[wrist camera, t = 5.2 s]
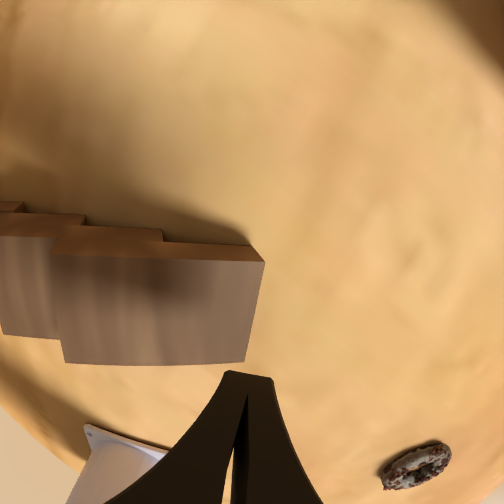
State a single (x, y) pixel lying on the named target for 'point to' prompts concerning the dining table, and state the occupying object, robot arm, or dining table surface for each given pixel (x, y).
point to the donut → (398, 469)
